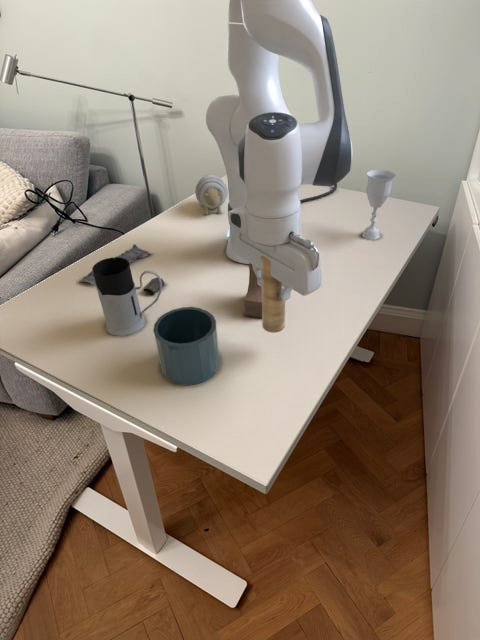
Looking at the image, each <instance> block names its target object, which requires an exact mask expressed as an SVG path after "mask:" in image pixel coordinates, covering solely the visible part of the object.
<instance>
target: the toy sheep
mask: <svg viewBox="0 0 480 640" xmlns="http://www.w3.org/2000/svg"><path fill="white" fill-rule="evenodd" d="M194 192H195V198H196V200H197V202H198V203H199V205H200V206H202V207H203V209H204V214H205V215H209V213H210V211H209V210H215V209H216V212H217V214H221V213H222V206H223V205H224V203H225V202H226V200H227V198H228V196H229V191H228V185H227V183H226V182H225V181H224V180H223V179H222V178H221V177H220V176H218V175H215V174H207V175H204V176H202V177H201V178H200V180H198V182H197V184H196V186H195V190H194Z"/></svg>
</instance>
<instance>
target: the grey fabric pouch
mask: <svg viewBox="0 0 480 640" xmlns="http://www.w3.org/2000/svg"><path fill="white" fill-rule="evenodd" d="M148 256H151V253H150V252H149V251H146V250H144V249H141V248H139V246H138V245H137V244H136V243H134V244H132V247H131V248H129V249H128V250H125V251H124V252H122V253H121V254H119V255H117V256H116V257H119V258H124V259H126V260H128V262H129V264H130V263H132V262H134V261H135V260H136V259H137V258H146V257H148ZM82 282H85V283H89V284H92V285H95V278H94V274H93V271H92V270H91V271H89V273H88V274H87V275H86V276H83V277H82V279H80V280H79V283H82Z"/></svg>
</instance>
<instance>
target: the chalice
mask: <svg viewBox="0 0 480 640" xmlns="http://www.w3.org/2000/svg"><path fill="white" fill-rule="evenodd" d="M366 176H367V178H368V179H367V184H366V196H367V200H368V203H369V205H370V208H372V209H373V210H372V212H371V218H370V219H369V220H370V225H369V226H366V228H365V229H364V230H363V233H361V236H362V238H364V239H367V240H374V241H375V240H378V239H380V237H381V234H380V231H379V228H378V227H376V225H375V224H376V222H377V221H378V220H377V216H378V209H380V208H381V207H382V206H383V205H384V203H385V202H386V201H387V199H388V197H389V196H390V194H391V190H392V184H393V180H394V178H395V177H396V174H395V173H394V172H392V171H391V170H390V171H389V170H384V169H372V170H369V171H368V172H367V173H366Z"/></svg>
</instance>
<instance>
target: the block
mask: <svg viewBox="0 0 480 640" xmlns="http://www.w3.org/2000/svg"><path fill="white" fill-rule="evenodd" d="M160 279H161V283H162V288H163V287H165V286H166V284H165V280H164V279H163V278H161V277H160ZM159 290H160V283H159V279H158V278H157V276H156V277H154V278H152V279H151V280H150V281H149V282H148V283H147V284H146V285H145V286H144V287H143V289H142V291H143V292H144V293H147V294H149V295H150V294H151V295H155V294H157V293H158V292H159Z"/></svg>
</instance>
